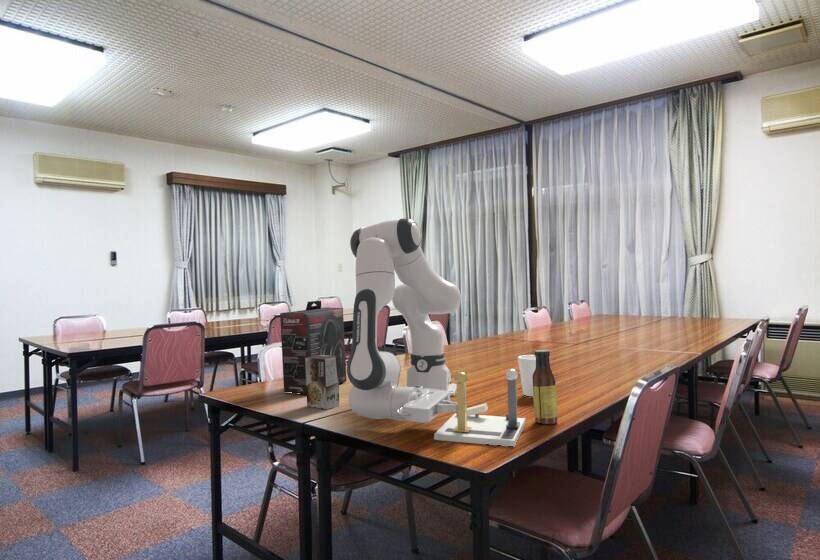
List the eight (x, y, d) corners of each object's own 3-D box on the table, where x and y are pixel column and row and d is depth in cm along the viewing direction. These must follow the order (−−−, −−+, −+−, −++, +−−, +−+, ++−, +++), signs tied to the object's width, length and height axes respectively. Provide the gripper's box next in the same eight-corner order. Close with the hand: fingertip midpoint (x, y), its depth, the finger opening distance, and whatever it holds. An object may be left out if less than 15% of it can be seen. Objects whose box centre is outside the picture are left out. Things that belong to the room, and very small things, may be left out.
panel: (455, 418, 148) (454, 409, 148) (525, 423, 141) (525, 413, 141) (434, 439, 129) (434, 429, 129) (514, 447, 122) (514, 435, 122)
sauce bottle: (561, 421, 142) (560, 350, 142) (551, 426, 137) (549, 352, 137) (540, 417, 146) (538, 348, 146) (529, 422, 142) (527, 350, 142)
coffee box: (340, 405, 166) (339, 355, 166) (326, 410, 161) (325, 358, 161) (319, 402, 171) (318, 354, 171) (305, 406, 166) (304, 356, 166)
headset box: (309, 396, 181) (307, 302, 180) (281, 393, 186) (278, 302, 186) (347, 382, 203) (345, 299, 202) (320, 380, 208) (318, 299, 208)
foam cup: (517, 397, 170) (516, 358, 170) (520, 391, 179) (519, 354, 179) (547, 399, 167) (546, 359, 167) (548, 392, 176) (547, 355, 176)
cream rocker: (468, 413, 145) (466, 408, 145) (488, 408, 143) (486, 403, 143) (465, 416, 142) (464, 411, 143) (486, 411, 140) (484, 405, 141)
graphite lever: (508, 423, 135) (506, 367, 135) (520, 424, 134) (519, 367, 134) (505, 427, 132) (504, 370, 132) (518, 428, 130) (516, 370, 130)
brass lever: (456, 427, 133) (455, 370, 132) (471, 428, 131) (470, 371, 131) (453, 431, 130) (451, 372, 130) (468, 432, 128) (467, 373, 128)
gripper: (391, 401, 126) (446, 405, 121) (419, 384, 145) (467, 386, 140) (392, 427, 126) (446, 431, 121) (420, 406, 145) (467, 409, 140)
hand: (457, 407), depth 131 cm, fingers closed, pressing on brass lever
